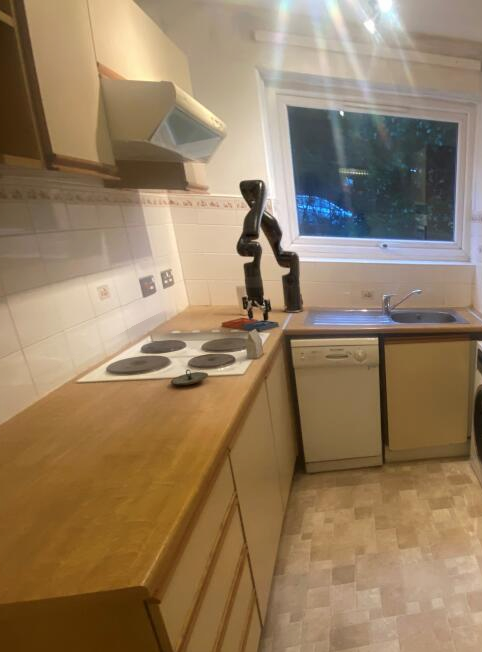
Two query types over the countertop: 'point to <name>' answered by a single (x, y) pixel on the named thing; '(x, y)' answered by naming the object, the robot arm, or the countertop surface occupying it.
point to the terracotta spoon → (240, 321)
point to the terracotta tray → (238, 326)
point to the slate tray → (249, 327)
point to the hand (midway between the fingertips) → (258, 319)
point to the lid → (189, 378)
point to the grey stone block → (254, 345)
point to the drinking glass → (241, 293)
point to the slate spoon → (260, 324)
